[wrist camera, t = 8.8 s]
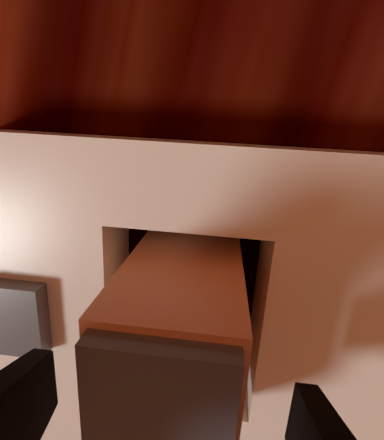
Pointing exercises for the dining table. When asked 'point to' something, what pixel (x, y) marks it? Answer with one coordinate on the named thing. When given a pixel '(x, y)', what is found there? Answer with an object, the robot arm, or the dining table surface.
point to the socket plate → (213, 226)
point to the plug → (167, 343)
